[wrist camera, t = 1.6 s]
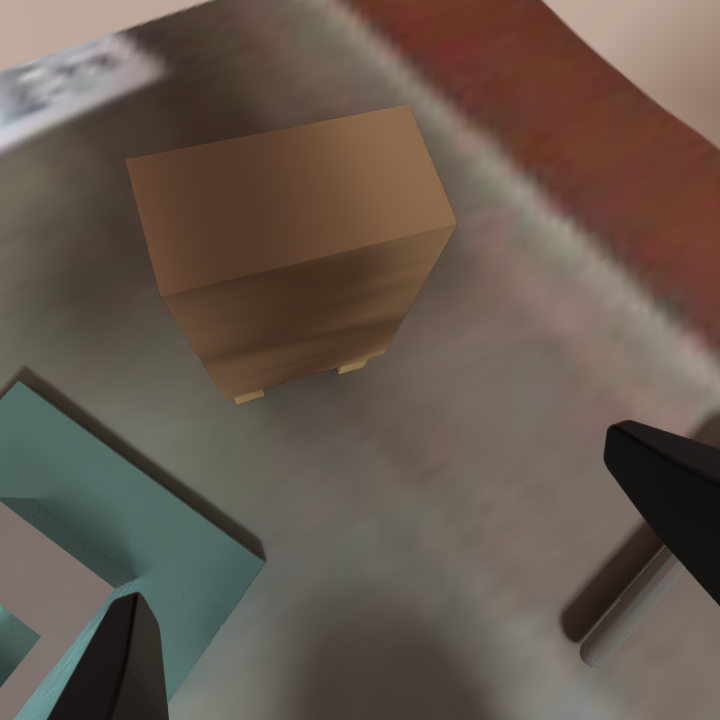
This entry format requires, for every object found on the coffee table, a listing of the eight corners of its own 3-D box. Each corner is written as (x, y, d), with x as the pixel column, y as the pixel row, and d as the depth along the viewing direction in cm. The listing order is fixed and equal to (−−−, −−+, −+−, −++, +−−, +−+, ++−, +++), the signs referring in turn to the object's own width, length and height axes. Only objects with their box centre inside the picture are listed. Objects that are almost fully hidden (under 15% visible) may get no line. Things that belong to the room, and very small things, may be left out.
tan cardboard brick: (349, 315, 24) (408, 104, 11) (370, 376, 23) (457, 223, 11) (218, 350, 23) (125, 159, 10) (236, 416, 22) (160, 297, 10)
